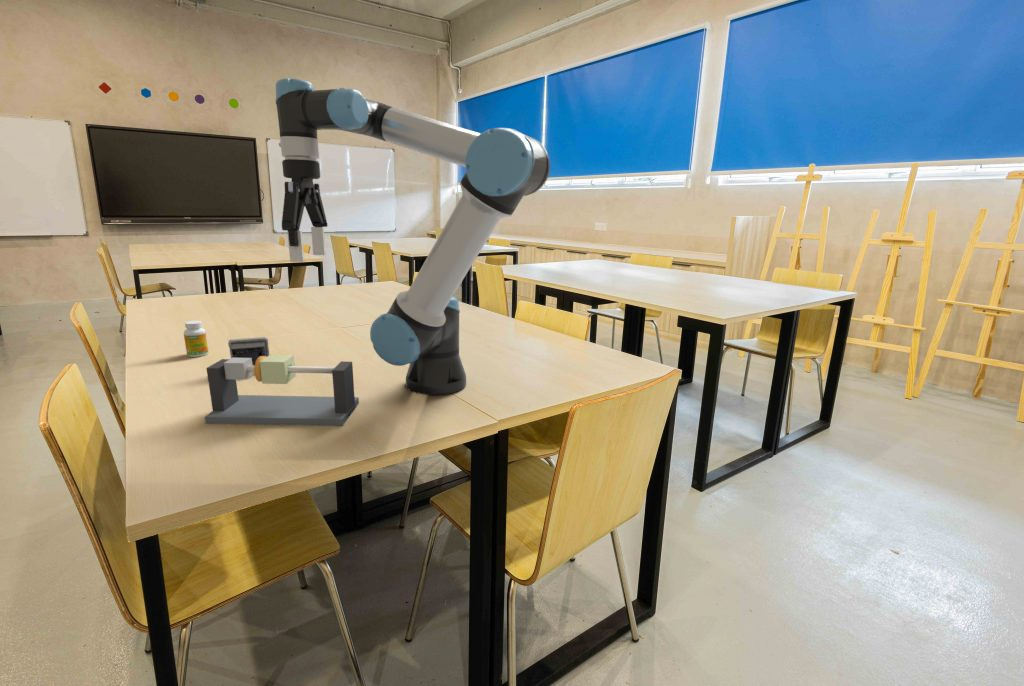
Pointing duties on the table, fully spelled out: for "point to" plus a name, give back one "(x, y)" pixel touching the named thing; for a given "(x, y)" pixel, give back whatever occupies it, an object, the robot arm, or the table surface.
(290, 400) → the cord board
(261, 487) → the table surface
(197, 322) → the supplement bottle
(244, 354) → the electrical switch
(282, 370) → the pale green sliding cube
